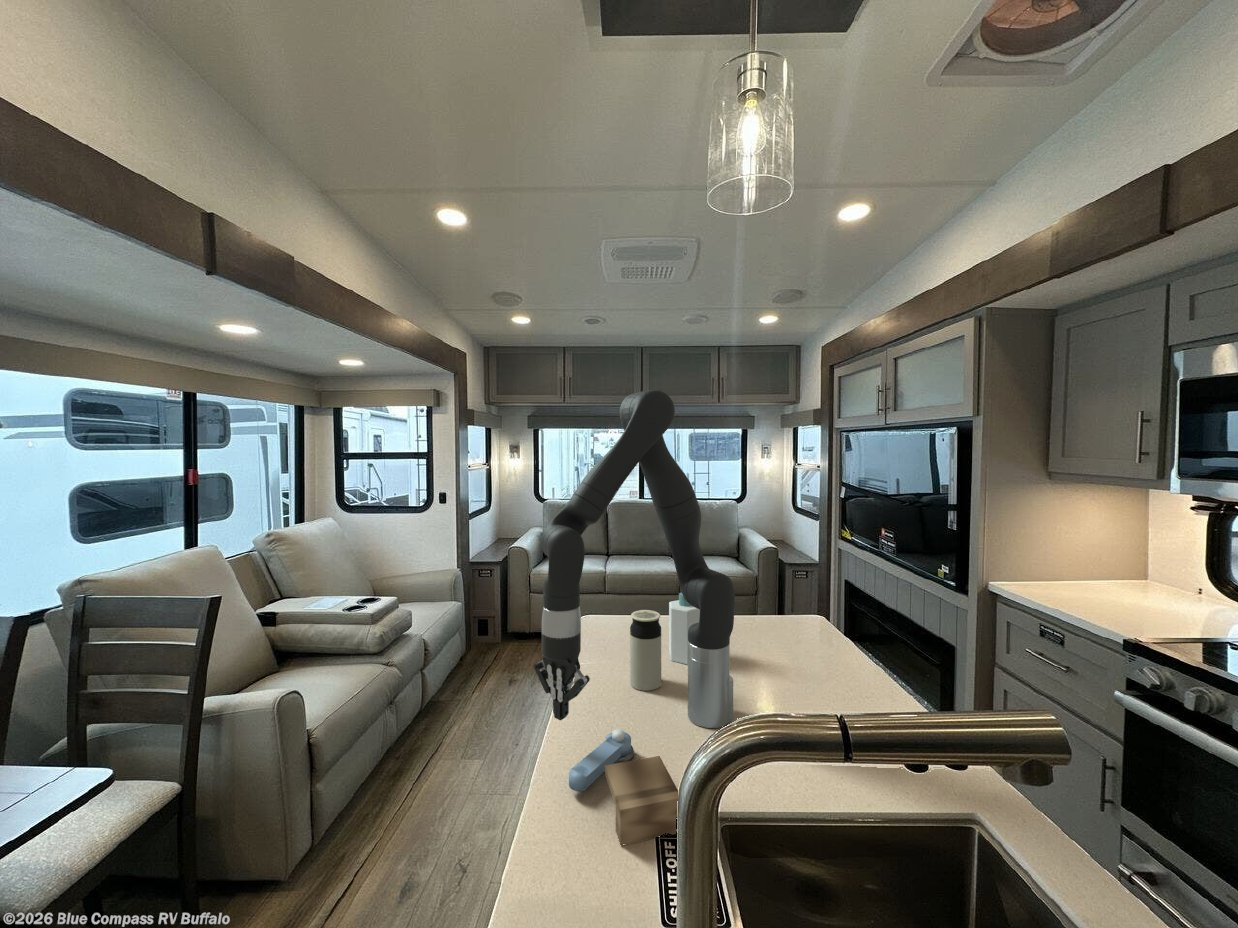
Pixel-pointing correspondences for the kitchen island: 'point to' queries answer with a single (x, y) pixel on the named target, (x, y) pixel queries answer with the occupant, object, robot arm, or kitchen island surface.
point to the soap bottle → (680, 628)
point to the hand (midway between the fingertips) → (560, 717)
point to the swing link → (599, 760)
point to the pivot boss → (626, 757)
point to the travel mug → (645, 650)
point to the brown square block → (642, 799)
